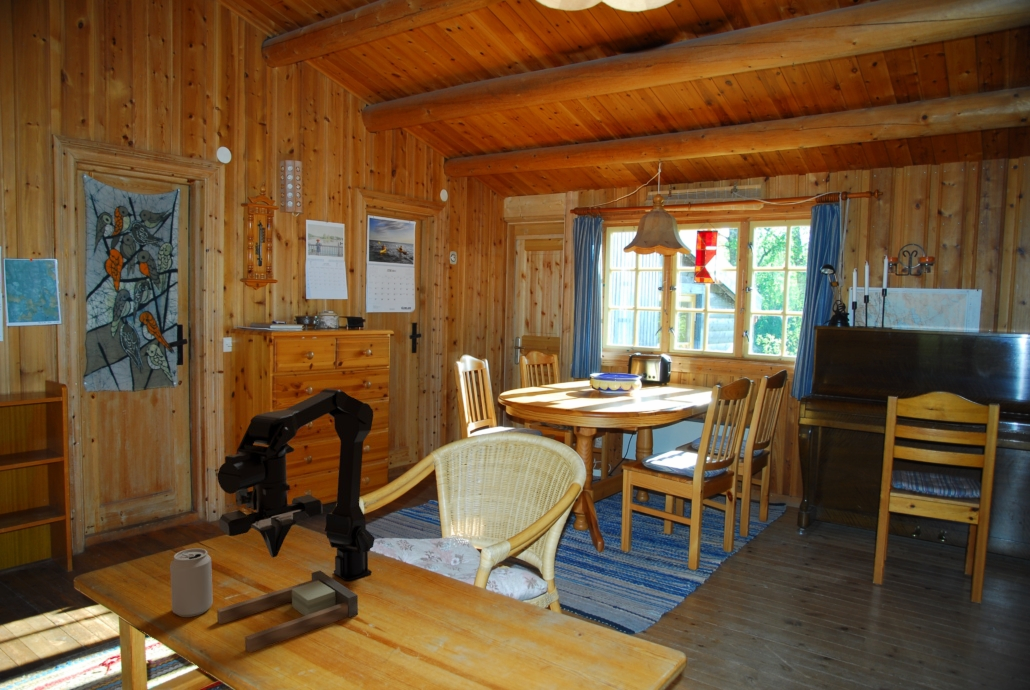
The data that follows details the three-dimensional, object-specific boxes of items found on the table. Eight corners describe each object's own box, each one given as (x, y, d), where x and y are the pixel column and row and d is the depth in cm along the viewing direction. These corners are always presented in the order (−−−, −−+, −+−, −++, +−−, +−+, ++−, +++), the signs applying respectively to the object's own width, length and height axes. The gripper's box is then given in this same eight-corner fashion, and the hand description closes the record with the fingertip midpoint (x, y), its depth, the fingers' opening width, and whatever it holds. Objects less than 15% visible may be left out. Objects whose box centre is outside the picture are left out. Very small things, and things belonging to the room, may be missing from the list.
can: (197, 620, 136) (194, 562, 135) (163, 617, 138) (161, 558, 137) (220, 603, 143) (218, 547, 142) (188, 600, 145) (186, 544, 144)
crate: (319, 598, 147) (318, 580, 146) (336, 609, 141) (335, 591, 141) (291, 607, 142) (291, 589, 142) (308, 620, 137) (307, 600, 137)
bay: (320, 588, 151) (320, 570, 151) (357, 614, 139) (357, 595, 139) (217, 621, 136) (216, 601, 136) (249, 653, 124) (248, 632, 124)
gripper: (297, 462, 147) (299, 533, 148) (206, 479, 134) (210, 557, 136) (322, 473, 139) (324, 548, 140) (228, 492, 126) (232, 575, 127)
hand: (273, 556), depth 136 cm, fingers closed
